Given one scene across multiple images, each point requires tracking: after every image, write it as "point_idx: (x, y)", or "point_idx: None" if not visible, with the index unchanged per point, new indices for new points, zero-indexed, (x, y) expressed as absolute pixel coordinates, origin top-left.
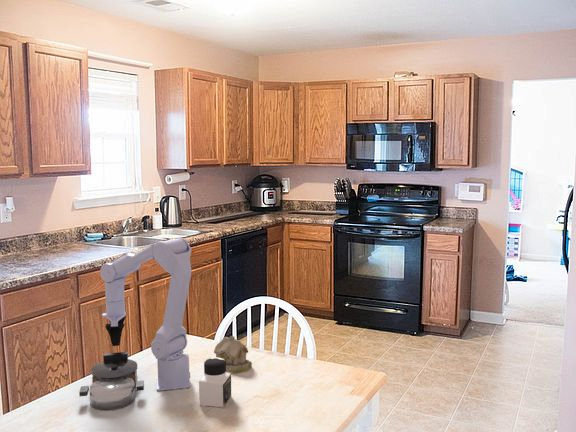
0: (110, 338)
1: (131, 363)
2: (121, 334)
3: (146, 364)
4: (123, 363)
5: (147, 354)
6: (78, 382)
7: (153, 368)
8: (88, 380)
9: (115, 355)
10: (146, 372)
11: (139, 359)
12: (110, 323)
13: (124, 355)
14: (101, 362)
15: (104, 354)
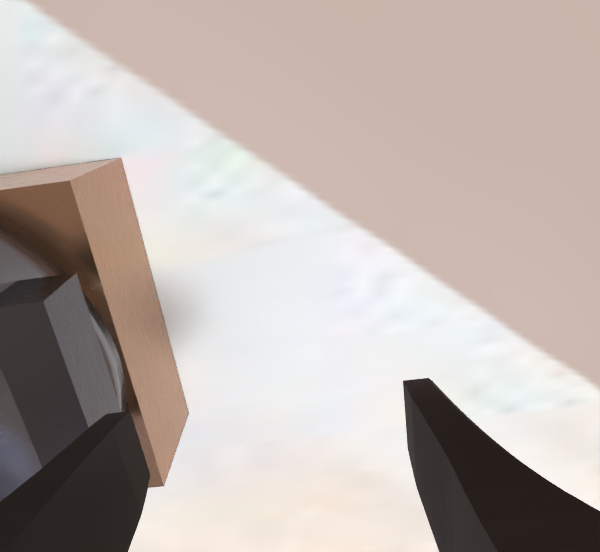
0: (28, 480)
1: None
2: (419, 490)
3: (366, 441)
4: (7, 446)
5: (555, 425)
6: (42, 18)
7: (292, 485)
8: (88, 98)
9: (25, 414)
10: (231, 457)
11: (469, 390)
12: (479, 527)
13: None
14: (4, 262)
15: (16, 313)
